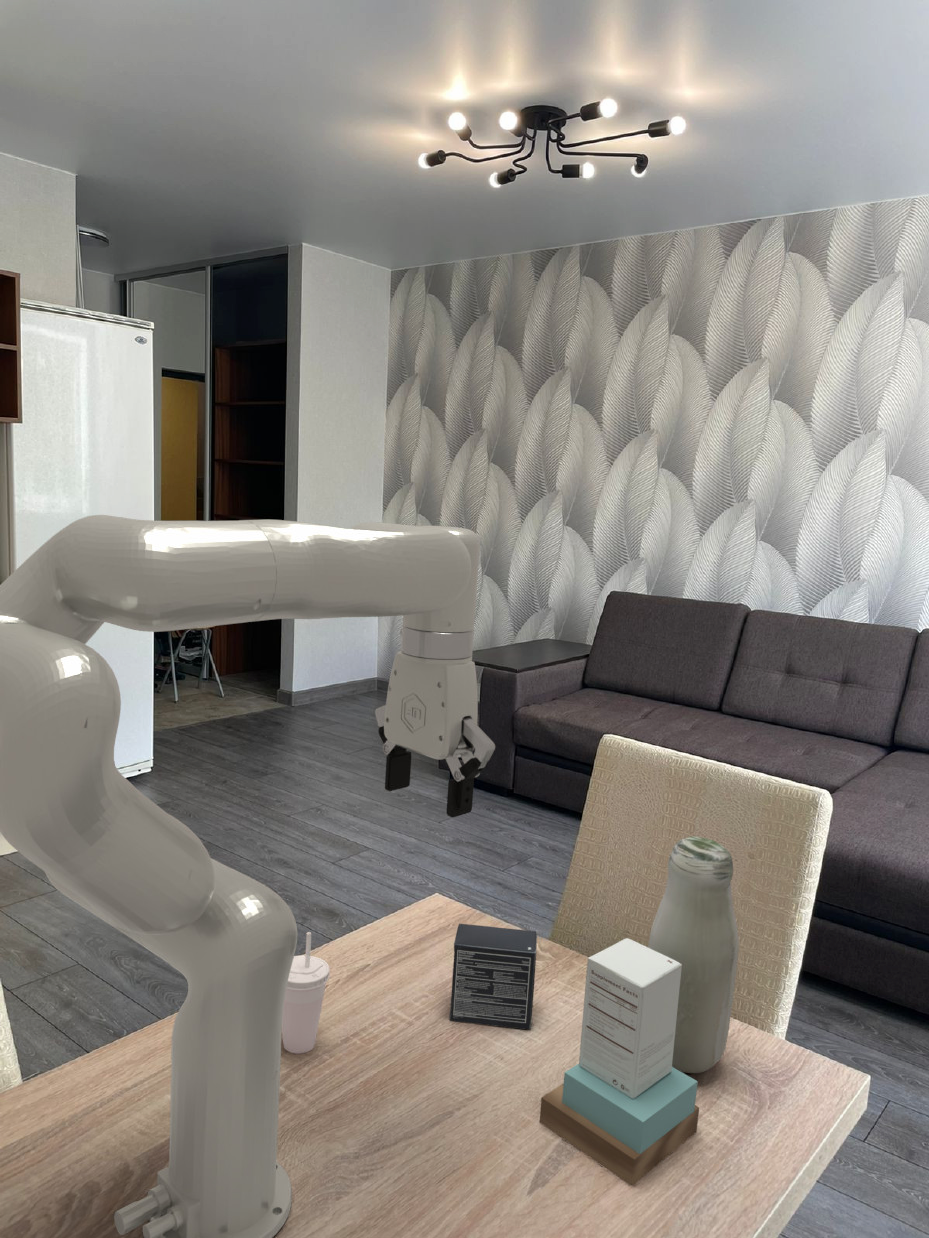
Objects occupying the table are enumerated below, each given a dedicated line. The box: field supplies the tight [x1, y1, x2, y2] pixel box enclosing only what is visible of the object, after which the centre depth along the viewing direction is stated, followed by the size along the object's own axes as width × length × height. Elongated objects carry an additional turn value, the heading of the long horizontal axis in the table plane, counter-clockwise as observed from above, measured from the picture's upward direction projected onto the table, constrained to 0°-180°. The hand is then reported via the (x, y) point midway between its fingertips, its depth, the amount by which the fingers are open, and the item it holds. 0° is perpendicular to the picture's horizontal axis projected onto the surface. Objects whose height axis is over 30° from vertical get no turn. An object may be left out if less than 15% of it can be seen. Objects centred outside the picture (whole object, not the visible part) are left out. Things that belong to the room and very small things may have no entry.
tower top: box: [562, 1063, 698, 1154], centre depth 98 cm, size 10×10×4 cm
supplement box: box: [578, 937, 682, 1099], centre depth 98 cm, size 7×7×13 cm
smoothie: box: [281, 931, 331, 1054], centre depth 109 cm, size 6×6×14 cm
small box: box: [448, 923, 538, 1030], centre depth 119 cm, size 11×6×10 cm, turn 84°
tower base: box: [539, 1082, 700, 1187], centre depth 100 cm, size 12×12×4 cm
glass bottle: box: [647, 836, 740, 1074], centre depth 110 cm, size 10×10×28 cm
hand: (427, 800), depth 100 cm, fingers open, 9 cm apart
